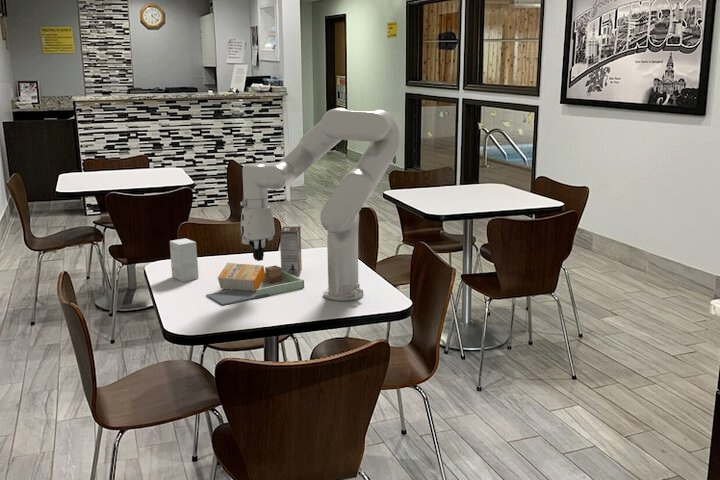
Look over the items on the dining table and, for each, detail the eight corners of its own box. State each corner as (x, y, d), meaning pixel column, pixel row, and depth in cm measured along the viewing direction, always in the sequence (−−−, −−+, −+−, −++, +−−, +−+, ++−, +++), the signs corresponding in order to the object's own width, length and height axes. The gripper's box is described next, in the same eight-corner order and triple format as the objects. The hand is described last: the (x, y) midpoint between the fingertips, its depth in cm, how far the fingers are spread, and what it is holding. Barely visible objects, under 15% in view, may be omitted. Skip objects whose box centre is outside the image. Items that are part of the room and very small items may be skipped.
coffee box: (284, 270, 256) (282, 226, 252) (302, 269, 255) (300, 226, 252) (281, 277, 247) (279, 231, 243) (299, 277, 246) (298, 231, 243)
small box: (199, 278, 246) (196, 241, 243) (182, 282, 242) (179, 244, 239) (188, 273, 252) (186, 237, 249) (171, 277, 248) (168, 240, 245)
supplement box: (254, 280, 226) (216, 277, 230) (257, 291, 229) (220, 289, 232) (263, 264, 233) (226, 262, 236) (266, 276, 235) (229, 273, 239)
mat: (269, 295, 226) (268, 294, 226) (222, 305, 217) (222, 304, 217) (251, 287, 235) (251, 285, 235) (206, 296, 226) (206, 294, 226)
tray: (304, 287, 234) (303, 280, 234) (257, 297, 225) (257, 289, 224) (281, 277, 246) (280, 270, 246) (235, 286, 237) (235, 278, 236)
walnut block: (281, 282, 241) (281, 267, 240) (271, 284, 239) (271, 269, 238) (276, 279, 244) (275, 265, 243) (265, 281, 242) (265, 267, 241)
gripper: (240, 207, 217) (242, 266, 221) (282, 202, 225) (284, 258, 230) (229, 204, 223) (232, 261, 227) (271, 199, 231) (273, 253, 236)
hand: (258, 259), depth 228 cm, fingers closed
